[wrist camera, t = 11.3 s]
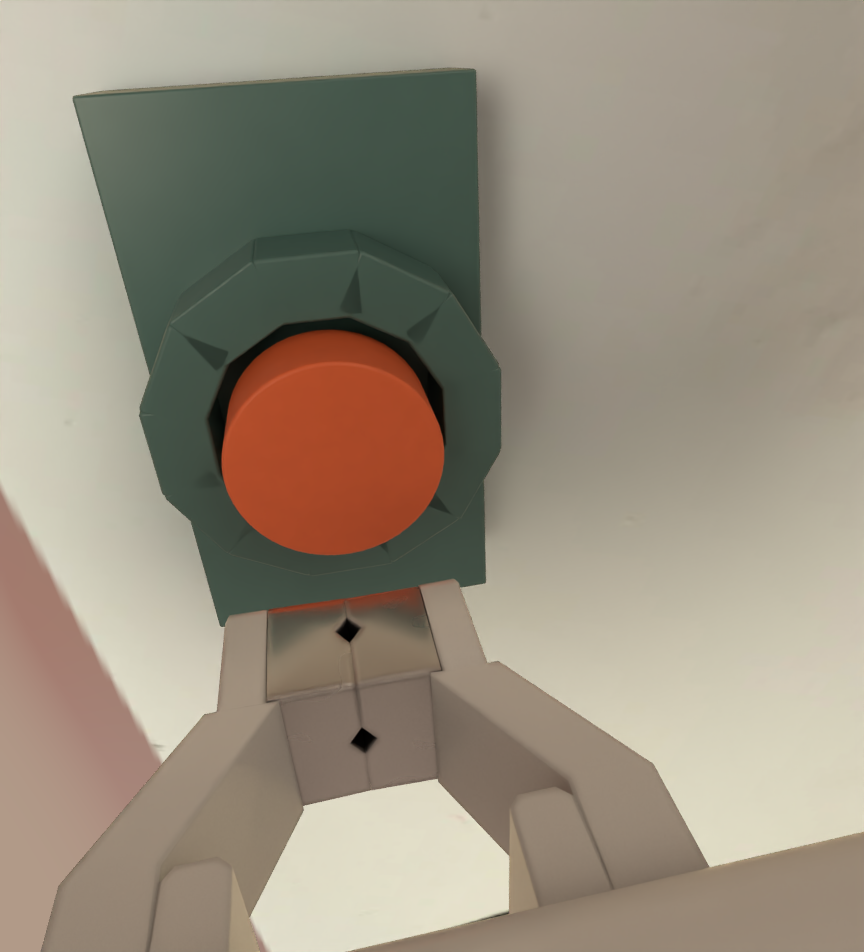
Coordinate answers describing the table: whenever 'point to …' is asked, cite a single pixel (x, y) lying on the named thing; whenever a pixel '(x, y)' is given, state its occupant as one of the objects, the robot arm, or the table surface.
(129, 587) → the table surface
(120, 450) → the table surface
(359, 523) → the release button
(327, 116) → the button block
